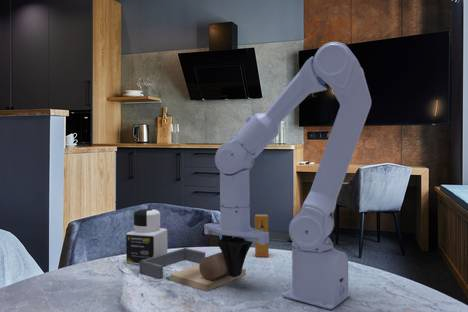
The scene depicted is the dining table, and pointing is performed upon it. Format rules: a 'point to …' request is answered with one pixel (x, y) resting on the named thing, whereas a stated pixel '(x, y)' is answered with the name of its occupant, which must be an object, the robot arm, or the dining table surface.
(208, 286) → the tan flat square slab
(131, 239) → the medicine bottle
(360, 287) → the dining table surface
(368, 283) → the dining table surface
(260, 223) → the supplement box
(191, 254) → the gray u-shaped frame
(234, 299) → the dining table surface
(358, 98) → the robot arm
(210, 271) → the roller
